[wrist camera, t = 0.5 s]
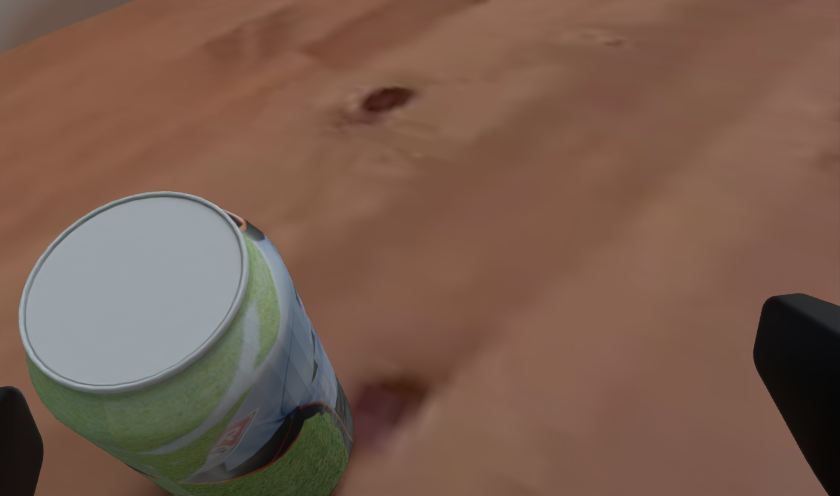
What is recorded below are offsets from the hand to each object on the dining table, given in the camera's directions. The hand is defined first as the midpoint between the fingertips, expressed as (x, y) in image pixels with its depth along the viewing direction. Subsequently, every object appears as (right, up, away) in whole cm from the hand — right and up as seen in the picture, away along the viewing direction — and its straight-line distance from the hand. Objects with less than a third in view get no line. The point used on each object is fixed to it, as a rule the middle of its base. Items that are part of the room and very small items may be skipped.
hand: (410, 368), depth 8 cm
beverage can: (-5, -6, +16) cm, 18 cm away
